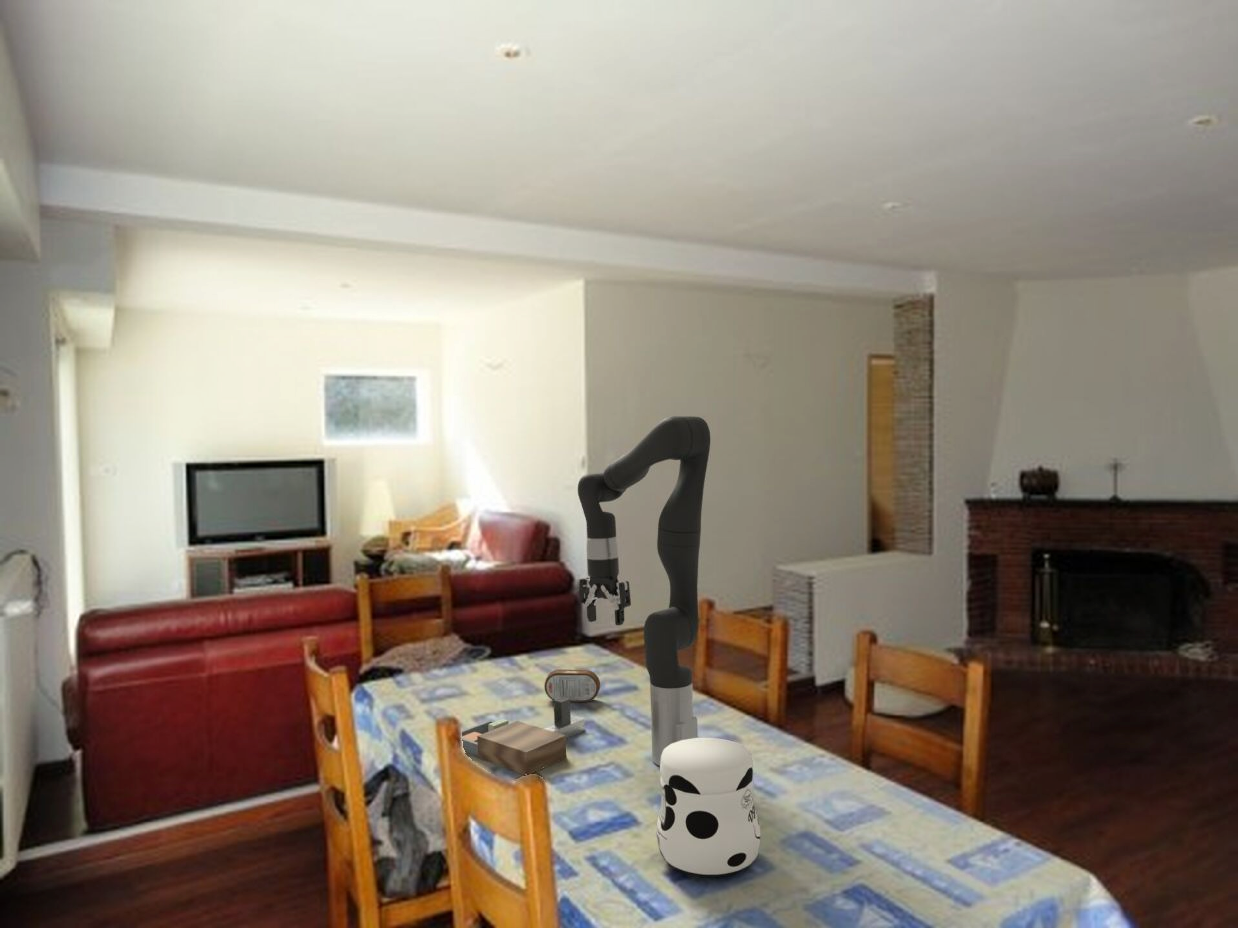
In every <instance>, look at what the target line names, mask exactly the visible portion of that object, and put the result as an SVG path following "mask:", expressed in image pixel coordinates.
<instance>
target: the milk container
mask: <svg viewBox="0 0 1238 928" xmlns="http://www.w3.org/2000/svg"><path fill="white" fill-rule="evenodd" d="M752 756H753V755H752V753H751V751H750V750H749V749H748V747H746V746H745V745H743V744H742V743H741V744H740V743H739V742H736V741H733V740H728V739H725V738H717V737H698V738H692V739H686V740H681V741H678V742H675V743H672V744H670V745H669V746H667V747H666V748H665V749H664V750H663V752H662V755H661V762H660V766H659V770H660V771H659V772H660V773H659V774H660V781H659V782H660V797H661V801H660V808H659V814H658V817H657V823H656V838H657V839H656V840H657V845H658V848H659V849H658V850H659V853H660V854H661V856H662V859H663V860H664V861H665V862H666V863H667V864H668V865H670V866H671V867H673V868H674V869H676V870H678V871H680V872H683V873H685V874H687V875H691V876H696V877H701V878H721V877H725V876H731V875H735V874H737V873H739V872H741V871H743V870H746V869H747V868H748V867H750V866H751V865H753V863H754V861H755V860H756V858H757V857H758V854H759V850H760V846H761V826H760V821H759V818H758V815H757V812H756V807H755V798H754V797H755V796H754V795H755V794H754V793H755V791H754V790H755V789H754V788H755V787H754V786H755V779H754V760H753V757H752Z"/></svg>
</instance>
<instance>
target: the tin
mask: <svg viewBox="0 0 1238 928" xmlns="http://www.w3.org/2000/svg"><path fill="white" fill-rule="evenodd" d="M543 688H544V692H545V694H546V696H547V697H548V698H549V699H550V700H551V701H554V700H556V699H558V698H561V697H565V698H568V699H570V703H589V702H591V701H593V700H594V699H595V698H596V697H597V696H598V694H599V692H600V690H601V681H600V679H599V677H598V675H597V674H596V673H595V672H594V671H592V670H588V669H555V670H553V671H551V672H549V673H548V675H547V676H546V678H545V681H544V687H543Z"/></svg>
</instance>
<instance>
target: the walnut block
mask: <svg viewBox="0 0 1238 928" xmlns="http://www.w3.org/2000/svg"><path fill="white" fill-rule="evenodd" d="M477 742H478V758H477V759H480V760H482V761H485V762H488V763H491V764H494V765H497V766H500V767H503V768H504V769H508V770H510V771H514V772H516V773H519V774H522V775H524V776H526V775H525V774H529V775H531V774H533V773H536V772H538V771H540V770H542V769H544V768H543V767H545V768H546V767H549V766H551V765H553V764H555V763H558V762H559V761H562V760H564V759H567V757H568V756H567V738H566V735H562V734H559V733H556V732H553V731H549V730H546V729H545V728H542V727H539V726H535V725H532V724H529V723H525V722H523V721H519V720H516V721H512V722H510V723H509V724H507V725H505V726H502V727H499V728H497V729H494V730H492V731H489V732H486V733H484V734H481V735H479V736H477ZM541 768H542V769H541ZM535 771H536V772H535Z"/></svg>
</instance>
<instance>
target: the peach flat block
mask: <svg viewBox="0 0 1238 928" xmlns="http://www.w3.org/2000/svg"><path fill="white" fill-rule="evenodd" d="M479 735H481V734H480V733H477V732H473V733H470V734H467V735H465V736H462V738H465V739H468V740H471V741H474V742H477V736H479ZM477 743H478V742H477Z"/></svg>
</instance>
